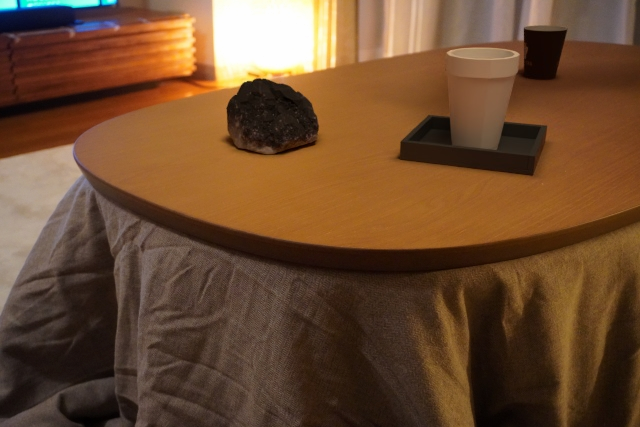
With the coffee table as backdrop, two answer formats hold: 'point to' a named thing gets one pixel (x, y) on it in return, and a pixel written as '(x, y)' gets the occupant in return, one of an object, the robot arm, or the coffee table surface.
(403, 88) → the coffee table surface
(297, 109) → the crystal cluster
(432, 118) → the tray
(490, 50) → the foam cup
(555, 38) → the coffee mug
